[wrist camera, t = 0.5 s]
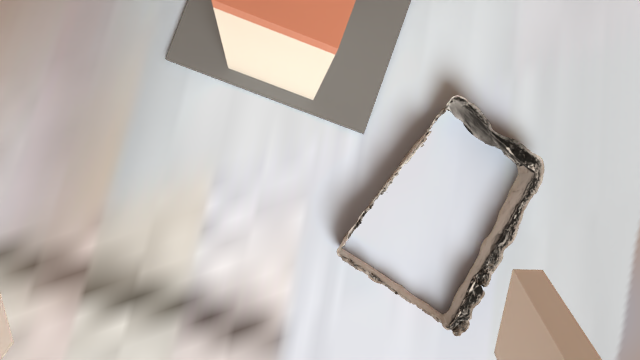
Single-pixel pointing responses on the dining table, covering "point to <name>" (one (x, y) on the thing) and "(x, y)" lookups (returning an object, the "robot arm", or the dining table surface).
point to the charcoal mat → (341, 78)
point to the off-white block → (282, 39)
